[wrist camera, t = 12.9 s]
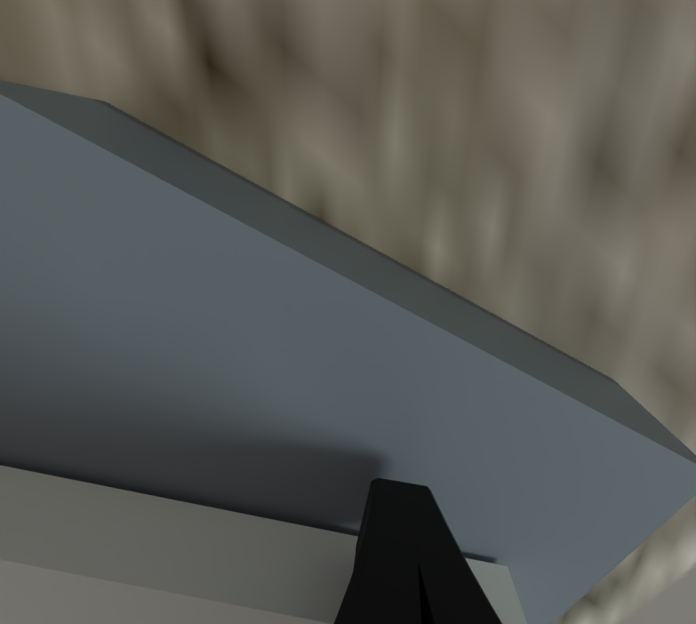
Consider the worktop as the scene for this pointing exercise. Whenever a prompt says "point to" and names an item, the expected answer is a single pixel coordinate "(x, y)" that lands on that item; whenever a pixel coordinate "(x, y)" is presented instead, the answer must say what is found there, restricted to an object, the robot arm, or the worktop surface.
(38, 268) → the gray storage bin
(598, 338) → the worktop surface
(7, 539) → the cover
